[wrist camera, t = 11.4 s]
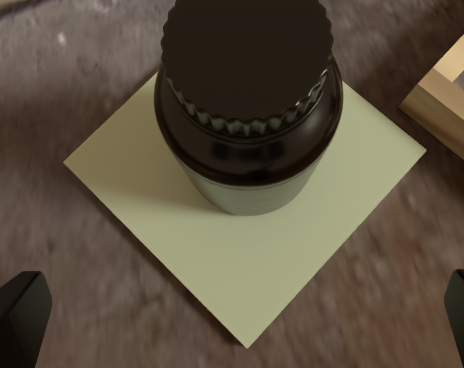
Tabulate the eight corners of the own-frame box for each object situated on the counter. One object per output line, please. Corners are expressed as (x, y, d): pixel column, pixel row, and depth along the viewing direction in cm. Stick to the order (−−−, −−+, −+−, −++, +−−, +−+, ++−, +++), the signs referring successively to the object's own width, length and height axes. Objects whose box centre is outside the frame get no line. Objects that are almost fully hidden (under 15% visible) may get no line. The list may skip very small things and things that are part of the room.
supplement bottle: (164, 137, 24) (79, -1, 12) (269, 77, 24) (285, -111, 13) (227, 244, 22) (199, 205, 11) (337, 178, 23) (426, 71, 11)
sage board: (247, 346, 22) (247, 349, 21) (68, 165, 25) (62, 162, 24) (421, 154, 24) (426, 150, 23) (238, 4, 26) (237, -5, 26)
